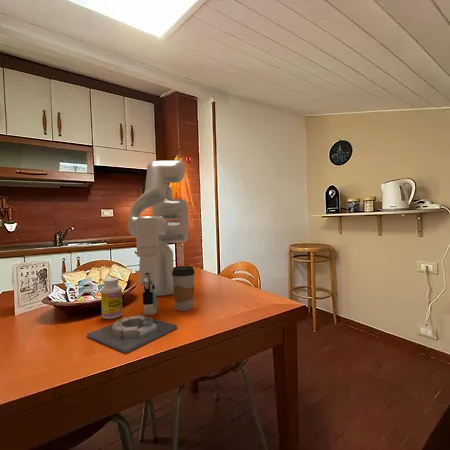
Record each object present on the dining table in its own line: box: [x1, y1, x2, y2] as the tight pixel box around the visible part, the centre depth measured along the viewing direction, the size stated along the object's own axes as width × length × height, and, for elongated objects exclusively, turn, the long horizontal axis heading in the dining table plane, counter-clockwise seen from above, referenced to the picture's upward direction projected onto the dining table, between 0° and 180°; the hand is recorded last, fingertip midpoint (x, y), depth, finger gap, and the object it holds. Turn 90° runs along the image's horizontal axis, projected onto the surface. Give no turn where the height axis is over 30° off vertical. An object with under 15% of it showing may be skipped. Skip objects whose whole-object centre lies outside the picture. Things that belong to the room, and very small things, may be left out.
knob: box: [143, 289, 158, 316], centre depth 99 cm, size 5×4×8 cm
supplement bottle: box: [100, 277, 123, 320], centre depth 97 cm, size 7×7×13 cm
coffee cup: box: [172, 265, 195, 312], centre depth 103 cm, size 8×8×15 cm
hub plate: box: [86, 314, 178, 354], centre depth 83 cm, size 18×18×3 cm
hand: (149, 300), depth 99 cm, fingers open, 9 cm apart
